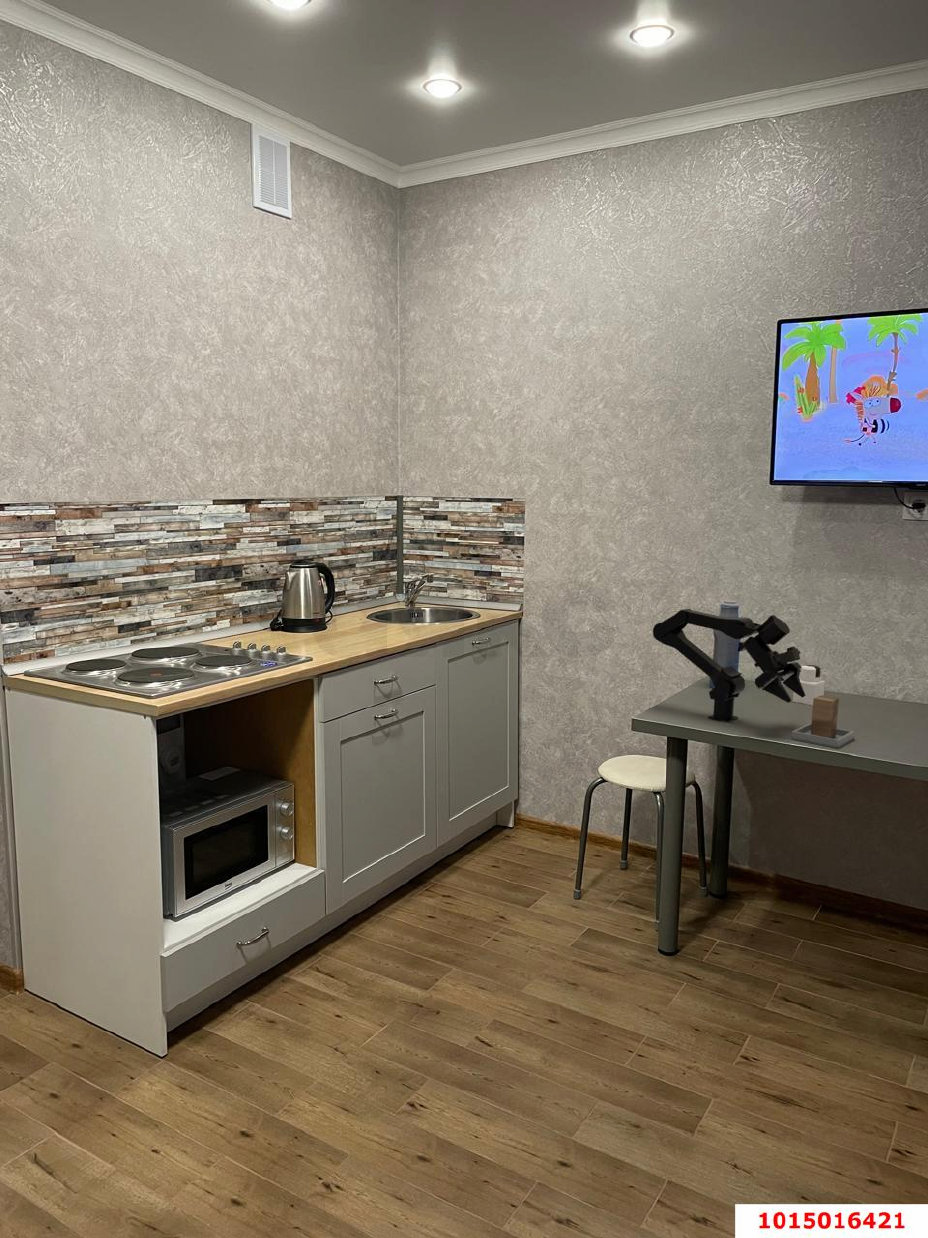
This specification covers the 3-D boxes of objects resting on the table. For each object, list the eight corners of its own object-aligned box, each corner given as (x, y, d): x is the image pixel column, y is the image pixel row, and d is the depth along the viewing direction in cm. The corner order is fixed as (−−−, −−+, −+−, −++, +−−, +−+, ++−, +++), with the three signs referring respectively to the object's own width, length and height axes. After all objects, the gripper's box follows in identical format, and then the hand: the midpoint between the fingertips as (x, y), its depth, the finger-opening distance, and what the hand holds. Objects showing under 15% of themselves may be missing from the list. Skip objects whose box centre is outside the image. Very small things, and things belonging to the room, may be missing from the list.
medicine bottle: (802, 698, 304) (805, 662, 302) (823, 702, 299) (826, 666, 297) (792, 701, 299) (794, 665, 297) (813, 706, 294) (816, 669, 292)
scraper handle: (828, 740, 252) (831, 701, 250) (810, 737, 255) (813, 698, 254) (835, 737, 255) (839, 698, 254) (817, 733, 259) (820, 695, 257)
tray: (837, 748, 247) (838, 740, 246) (791, 739, 255) (791, 731, 254) (854, 739, 256) (854, 731, 256) (808, 730, 264) (809, 723, 264)
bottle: (707, 683, 323) (712, 598, 318) (736, 685, 322) (741, 599, 318) (711, 690, 314) (717, 602, 309) (741, 691, 313) (747, 603, 308)
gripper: (768, 641, 254) (804, 687, 248) (797, 634, 267) (832, 677, 261) (739, 665, 260) (774, 710, 254) (769, 657, 274) (803, 700, 268)
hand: (797, 699), depth 259 cm, fingers open, 9 cm apart
